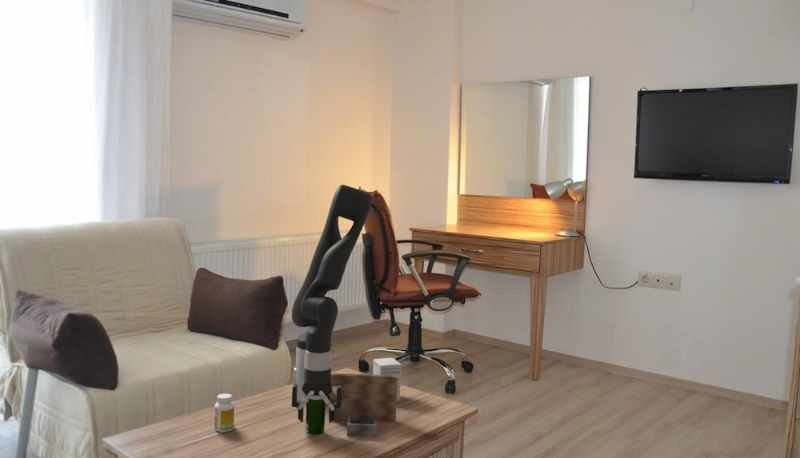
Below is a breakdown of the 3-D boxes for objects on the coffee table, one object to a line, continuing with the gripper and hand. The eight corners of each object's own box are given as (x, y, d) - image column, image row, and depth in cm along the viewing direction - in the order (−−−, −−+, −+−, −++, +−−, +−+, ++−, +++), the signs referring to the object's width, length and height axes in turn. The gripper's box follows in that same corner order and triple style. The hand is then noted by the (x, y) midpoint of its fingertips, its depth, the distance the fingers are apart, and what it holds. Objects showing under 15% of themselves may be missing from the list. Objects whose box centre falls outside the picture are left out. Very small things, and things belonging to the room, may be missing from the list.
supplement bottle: (237, 426, 198) (238, 394, 197) (226, 433, 193) (227, 400, 192) (221, 423, 200) (221, 391, 199) (210, 430, 195) (210, 397, 193)
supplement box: (371, 395, 228) (372, 358, 226) (392, 393, 230) (393, 357, 229) (378, 403, 221) (380, 365, 219) (400, 401, 224) (401, 363, 222)
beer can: (310, 438, 192) (311, 397, 190) (302, 431, 196) (303, 391, 195) (327, 435, 195) (329, 394, 193) (319, 428, 199) (320, 388, 198)
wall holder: (325, 435, 194) (327, 387, 193) (329, 418, 207) (330, 373, 205) (396, 437, 195) (398, 390, 193) (395, 420, 208) (397, 375, 206)
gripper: (290, 368, 189) (289, 426, 191) (342, 370, 190) (340, 427, 192) (293, 360, 197) (292, 415, 198) (343, 362, 197) (342, 417, 199)
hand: (316, 421), depth 195 cm, fingers open, 7 cm apart
